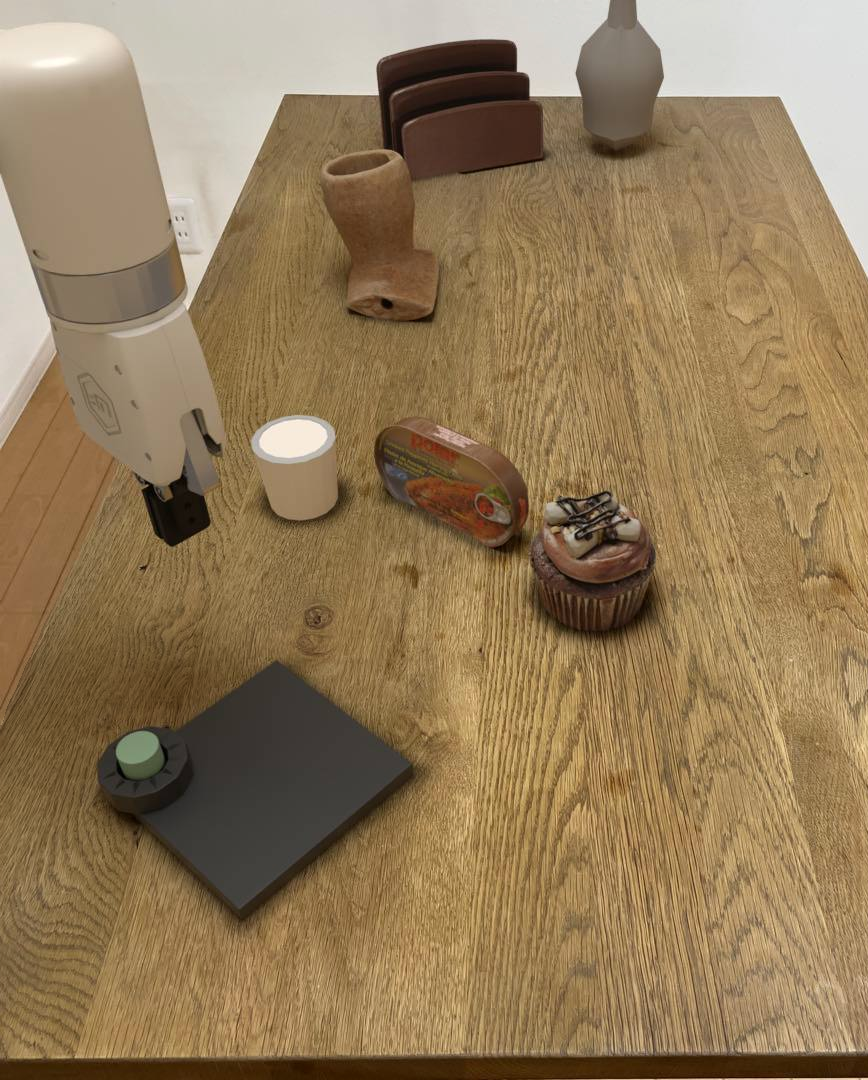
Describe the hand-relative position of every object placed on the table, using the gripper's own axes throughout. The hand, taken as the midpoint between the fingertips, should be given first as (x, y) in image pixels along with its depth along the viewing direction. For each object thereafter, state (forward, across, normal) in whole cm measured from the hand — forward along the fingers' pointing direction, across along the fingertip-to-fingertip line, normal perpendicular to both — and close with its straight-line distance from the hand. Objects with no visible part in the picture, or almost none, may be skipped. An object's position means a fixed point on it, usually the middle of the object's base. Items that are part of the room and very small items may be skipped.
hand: (184, 531), depth 72 cm
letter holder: (+14, -55, +78) cm, 96 cm away
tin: (+14, 0, +23) cm, 27 cm away
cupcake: (+14, +15, +24) cm, 31 cm away
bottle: (+14, -41, +94) cm, 104 cm away
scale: (+13, +11, -4) cm, 18 cm away
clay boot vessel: (+14, -34, +45) cm, 58 cm away
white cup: (+13, -11, +16) cm, 24 cm away
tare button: (+10, +6, -9) cm, 15 cm away
